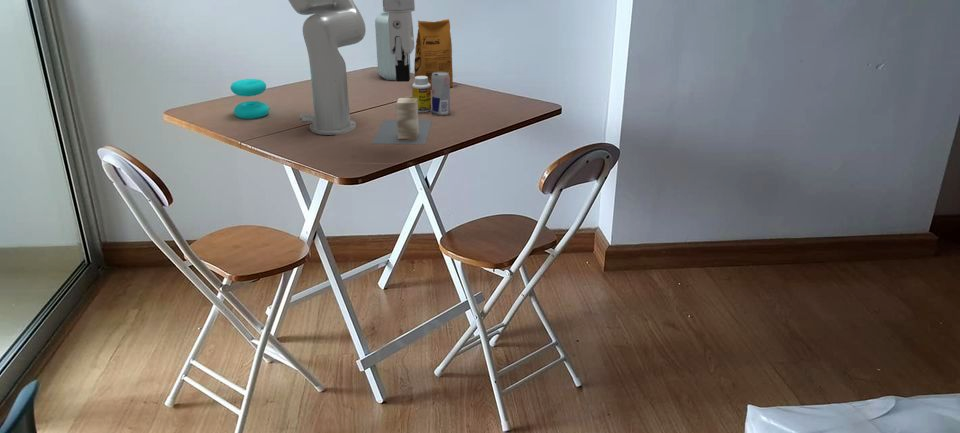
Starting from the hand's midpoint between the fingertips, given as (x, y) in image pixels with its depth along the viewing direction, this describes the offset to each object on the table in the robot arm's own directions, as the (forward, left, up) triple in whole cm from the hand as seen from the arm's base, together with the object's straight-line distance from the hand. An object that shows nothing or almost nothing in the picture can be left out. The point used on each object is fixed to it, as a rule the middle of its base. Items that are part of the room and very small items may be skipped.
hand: (403, 80), depth 183 cm
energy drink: (+7, +33, -18) cm, 38 cm away
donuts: (-49, +30, -18) cm, 60 cm away
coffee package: (+2, +66, -18) cm, 68 cm away
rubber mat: (-2, +14, -18) cm, 23 cm away
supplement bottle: (+1, +36, -18) cm, 40 cm away
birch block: (0, +9, -17) cm, 20 cm away
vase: (-13, +78, -18) cm, 81 cm away
